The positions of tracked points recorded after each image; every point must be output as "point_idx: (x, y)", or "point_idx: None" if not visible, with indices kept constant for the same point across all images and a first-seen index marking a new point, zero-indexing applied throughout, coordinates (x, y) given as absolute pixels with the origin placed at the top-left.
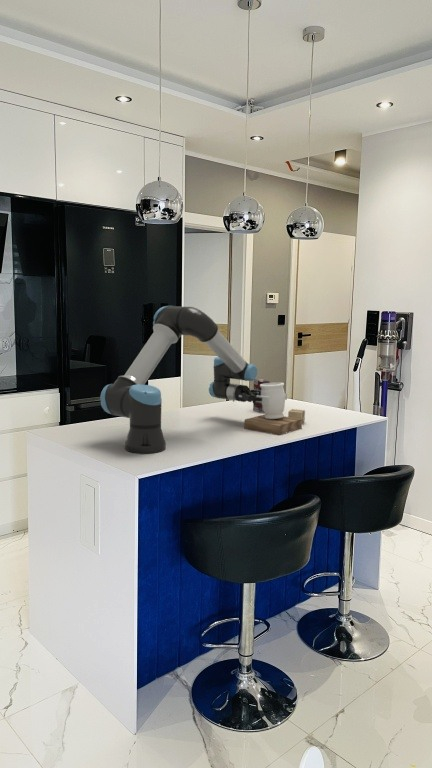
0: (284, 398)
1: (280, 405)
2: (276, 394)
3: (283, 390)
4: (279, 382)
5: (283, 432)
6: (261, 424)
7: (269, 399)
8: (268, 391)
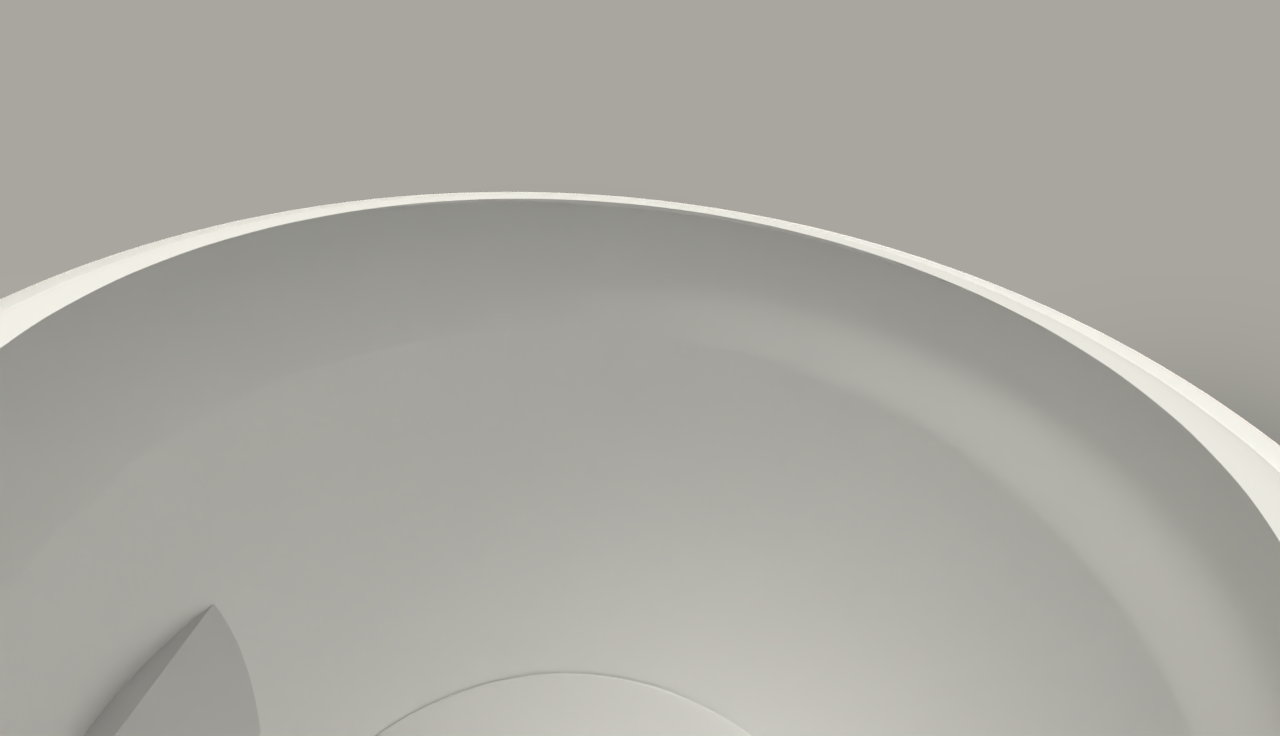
0: (518, 552)
1: (667, 681)
2: (807, 493)
3: (511, 389)
4: (12, 307)
5: None
6: None
7: None
8: (1034, 563)
